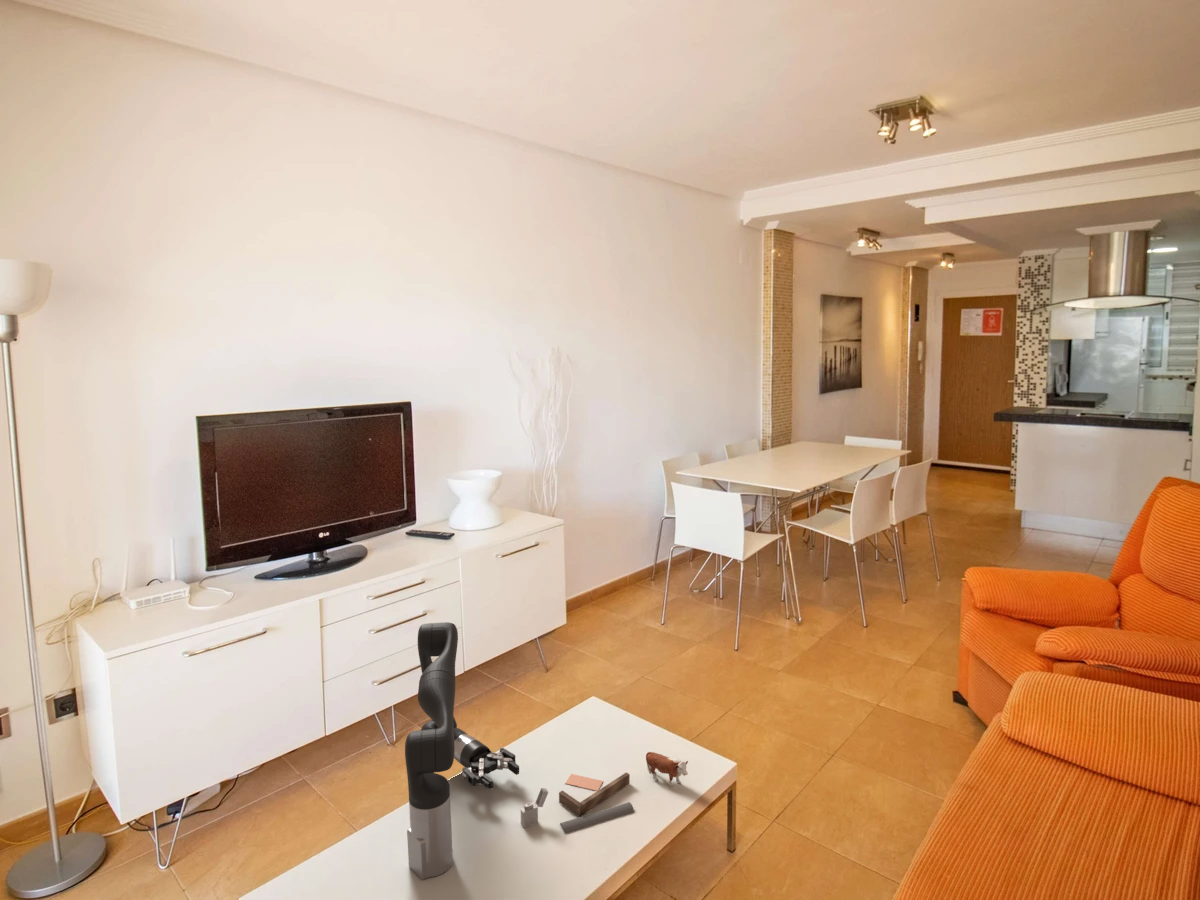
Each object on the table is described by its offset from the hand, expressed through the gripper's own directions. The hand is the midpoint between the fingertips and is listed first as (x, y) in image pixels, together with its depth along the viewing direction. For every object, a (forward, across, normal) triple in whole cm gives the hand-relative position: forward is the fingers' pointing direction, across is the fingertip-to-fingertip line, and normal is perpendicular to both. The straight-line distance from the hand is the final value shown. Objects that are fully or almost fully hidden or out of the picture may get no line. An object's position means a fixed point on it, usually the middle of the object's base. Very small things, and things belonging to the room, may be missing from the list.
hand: (505, 778), depth 183 cm
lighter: (+12, 0, +6) cm, 14 cm away
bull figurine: (+26, +36, +6) cm, 45 cm away
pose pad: (+10, +19, +6) cm, 23 cm away
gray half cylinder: (+23, +12, +7) cm, 26 cm away
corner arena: (+15, +18, +6) cm, 25 cm away
